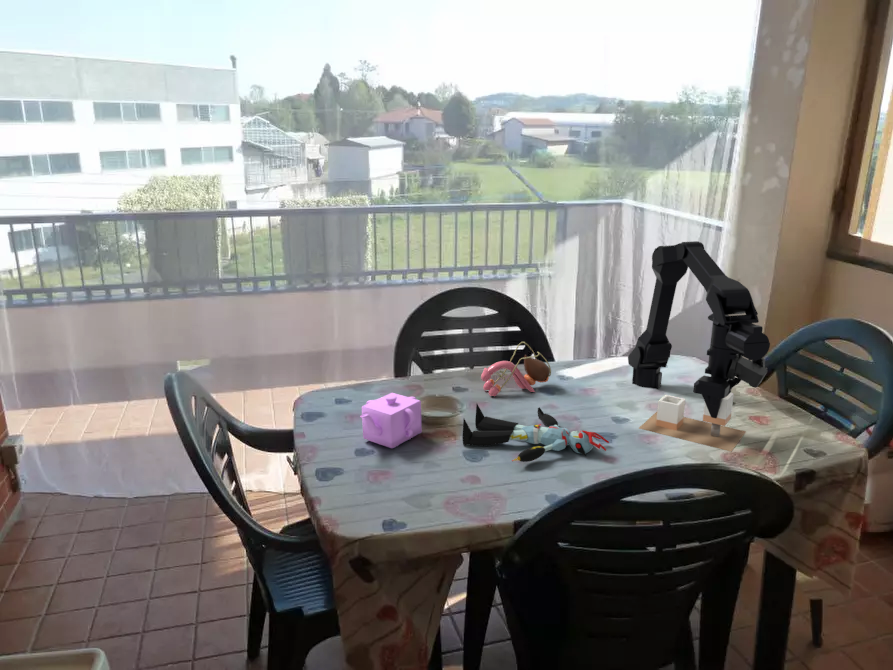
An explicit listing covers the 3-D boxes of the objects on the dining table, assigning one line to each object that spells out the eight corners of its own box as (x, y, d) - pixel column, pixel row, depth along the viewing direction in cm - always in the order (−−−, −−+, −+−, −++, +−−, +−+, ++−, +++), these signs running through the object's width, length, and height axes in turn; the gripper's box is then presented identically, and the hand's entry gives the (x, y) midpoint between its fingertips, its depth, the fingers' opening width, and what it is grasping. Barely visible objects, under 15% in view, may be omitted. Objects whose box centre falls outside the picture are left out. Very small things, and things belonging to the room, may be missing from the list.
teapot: (384, 463, 138) (382, 418, 135) (337, 446, 146) (334, 403, 143) (437, 433, 152) (437, 391, 149) (392, 418, 160) (390, 379, 157)
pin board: (638, 433, 150) (639, 413, 149) (657, 415, 159) (658, 397, 158) (730, 456, 139) (733, 436, 137) (745, 436, 148) (747, 416, 146)
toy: (487, 389, 160) (616, 398, 150) (489, 419, 163) (615, 430, 152) (450, 432, 137) (598, 447, 127) (452, 466, 140) (598, 484, 129)
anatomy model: (466, 375, 177) (506, 326, 177) (506, 405, 183) (544, 358, 183) (481, 390, 167) (523, 338, 166) (522, 421, 173) (563, 372, 172)
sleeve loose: (724, 426, 142) (727, 399, 140) (702, 420, 144) (705, 395, 143) (730, 418, 145) (733, 393, 143) (709, 413, 148) (711, 388, 146)
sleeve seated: (656, 425, 151) (658, 400, 149) (663, 418, 155) (665, 394, 153) (676, 430, 148) (678, 405, 147) (683, 423, 152) (685, 398, 150)
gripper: (754, 364, 128) (745, 438, 133) (776, 340, 142) (767, 408, 147) (696, 354, 134) (689, 425, 139) (722, 332, 149) (715, 397, 153)
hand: (717, 413), depth 144 cm, fingers closed on sleeve loose, 5 cm apart
